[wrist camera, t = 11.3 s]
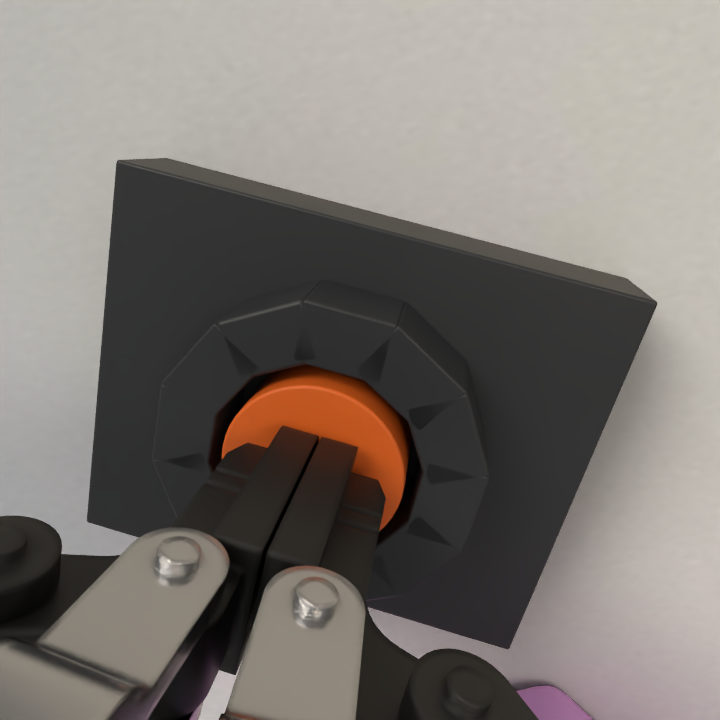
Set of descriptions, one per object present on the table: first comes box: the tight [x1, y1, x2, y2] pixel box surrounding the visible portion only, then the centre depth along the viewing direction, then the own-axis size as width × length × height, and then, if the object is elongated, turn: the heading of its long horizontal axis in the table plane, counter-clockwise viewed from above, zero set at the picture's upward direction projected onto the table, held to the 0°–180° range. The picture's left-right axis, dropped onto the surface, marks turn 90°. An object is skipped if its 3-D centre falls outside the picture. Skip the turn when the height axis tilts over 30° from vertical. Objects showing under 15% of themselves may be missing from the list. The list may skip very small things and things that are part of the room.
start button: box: [222, 364, 411, 531], centre depth 12 cm, size 4×4×2 cm
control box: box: [87, 158, 657, 649], centre depth 14 cm, size 11×9×4 cm
